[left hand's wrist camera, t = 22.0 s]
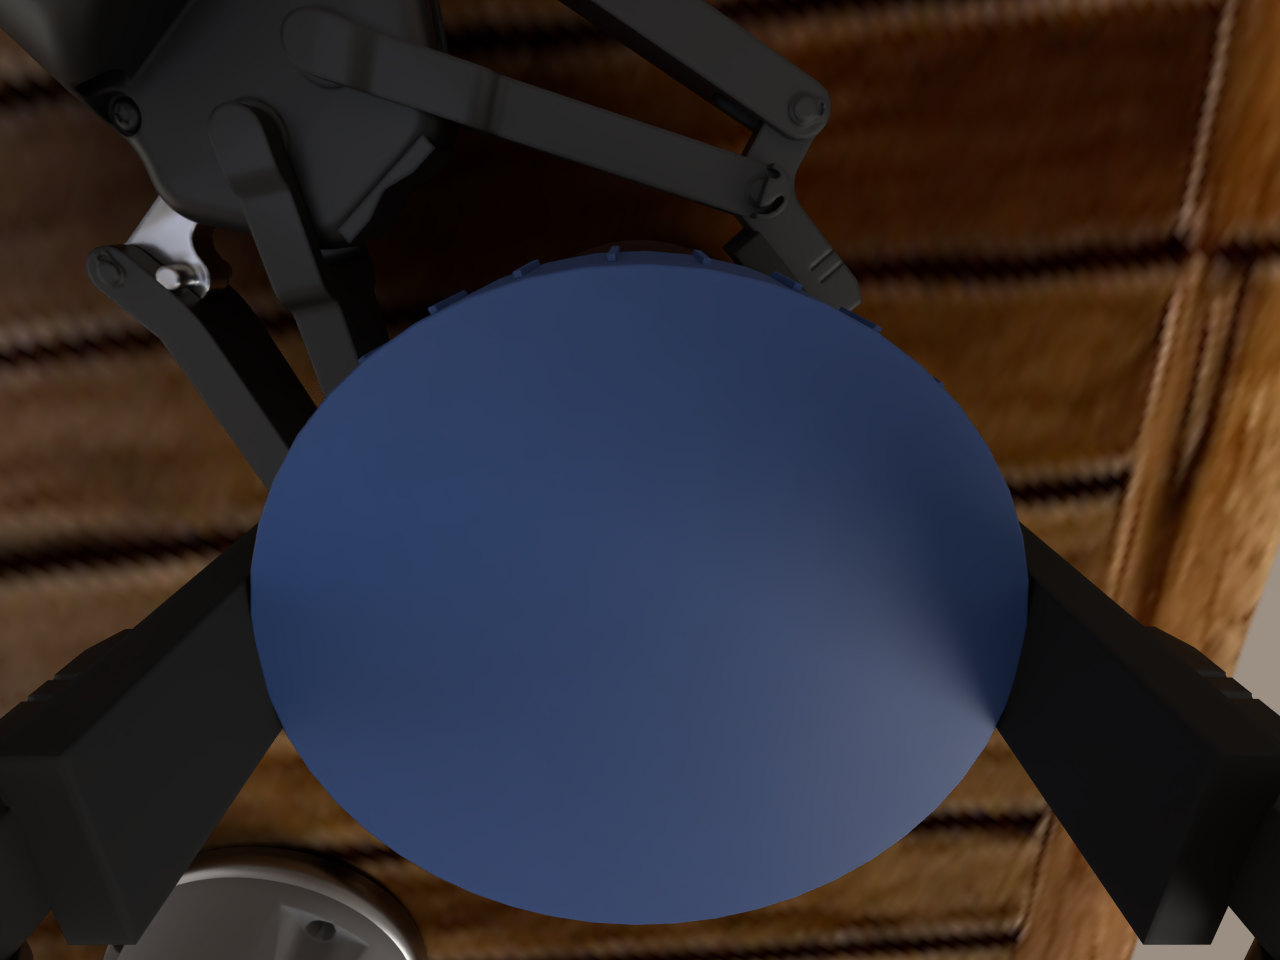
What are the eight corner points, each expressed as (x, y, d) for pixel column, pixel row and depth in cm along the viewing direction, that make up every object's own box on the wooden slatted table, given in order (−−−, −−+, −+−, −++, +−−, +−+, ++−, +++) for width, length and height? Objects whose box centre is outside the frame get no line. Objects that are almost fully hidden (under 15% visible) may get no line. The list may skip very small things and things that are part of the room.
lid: (179, 409, 11) (69, 459, 9) (873, 117, 10) (940, 93, 7) (490, 878, 15) (466, 990, 13) (1018, 725, 14) (1088, 823, 11)
